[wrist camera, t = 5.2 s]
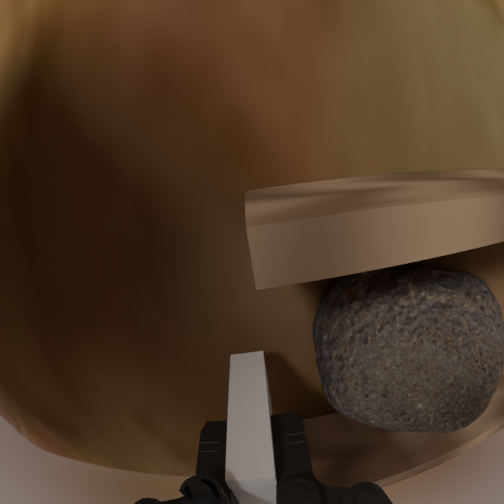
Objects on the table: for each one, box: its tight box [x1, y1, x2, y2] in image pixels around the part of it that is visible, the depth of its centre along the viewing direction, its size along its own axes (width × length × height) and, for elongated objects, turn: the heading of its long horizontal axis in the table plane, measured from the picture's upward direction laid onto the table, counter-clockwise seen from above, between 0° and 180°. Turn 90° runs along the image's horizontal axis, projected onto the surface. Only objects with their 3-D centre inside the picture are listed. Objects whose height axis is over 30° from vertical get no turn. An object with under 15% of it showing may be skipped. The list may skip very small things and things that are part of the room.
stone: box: [313, 267, 504, 434], centre depth 13 cm, size 10×8×10 cm
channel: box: [244, 169, 504, 488], centre depth 12 cm, size 18×16×6 cm
